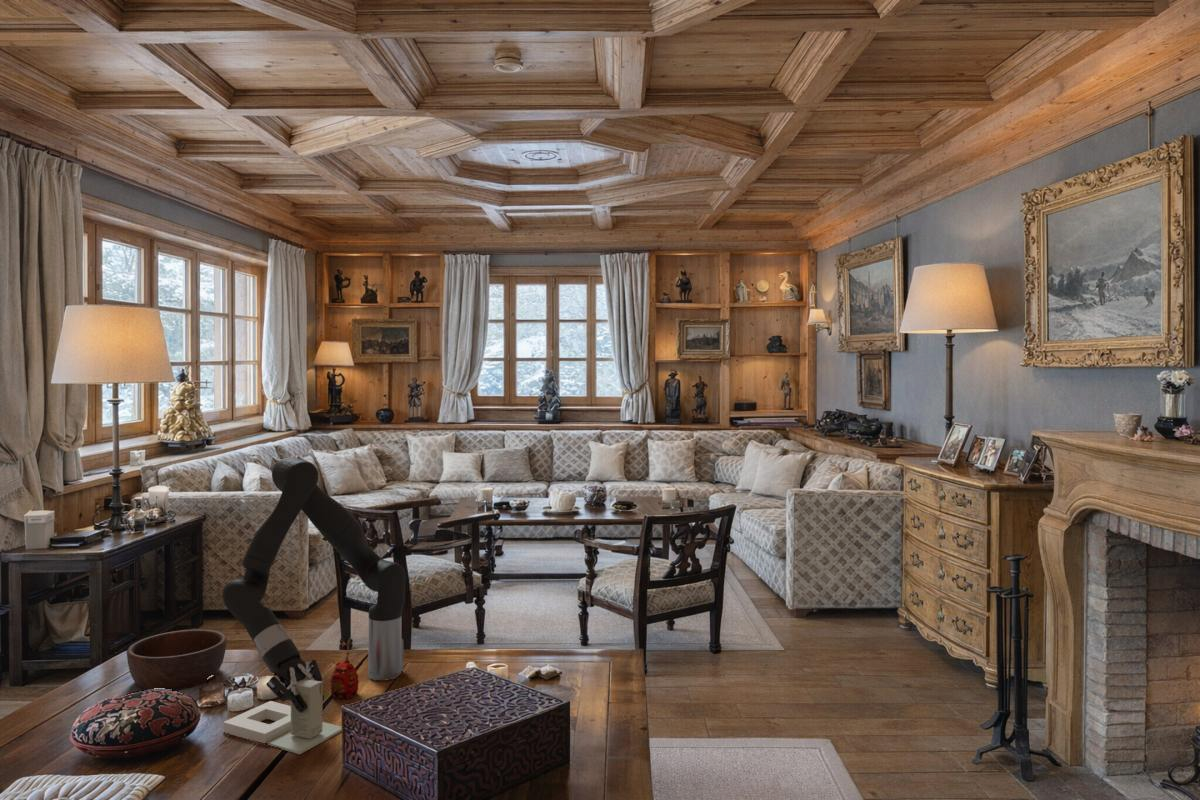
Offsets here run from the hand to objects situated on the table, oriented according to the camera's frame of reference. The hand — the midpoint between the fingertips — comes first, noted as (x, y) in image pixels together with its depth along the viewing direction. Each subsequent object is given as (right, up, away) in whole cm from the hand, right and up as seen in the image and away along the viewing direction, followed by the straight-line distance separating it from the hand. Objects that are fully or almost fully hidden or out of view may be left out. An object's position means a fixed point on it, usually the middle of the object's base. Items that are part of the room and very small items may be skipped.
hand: (312, 706), depth 183 cm
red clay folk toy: (-1, -8, +26) cm, 27 cm away
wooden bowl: (-52, -7, +37) cm, 64 cm away
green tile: (-2, -8, +1) cm, 8 cm away
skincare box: (-2, -7, +1) cm, 7 cm away
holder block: (-13, -8, +6) cm, 17 cm away
